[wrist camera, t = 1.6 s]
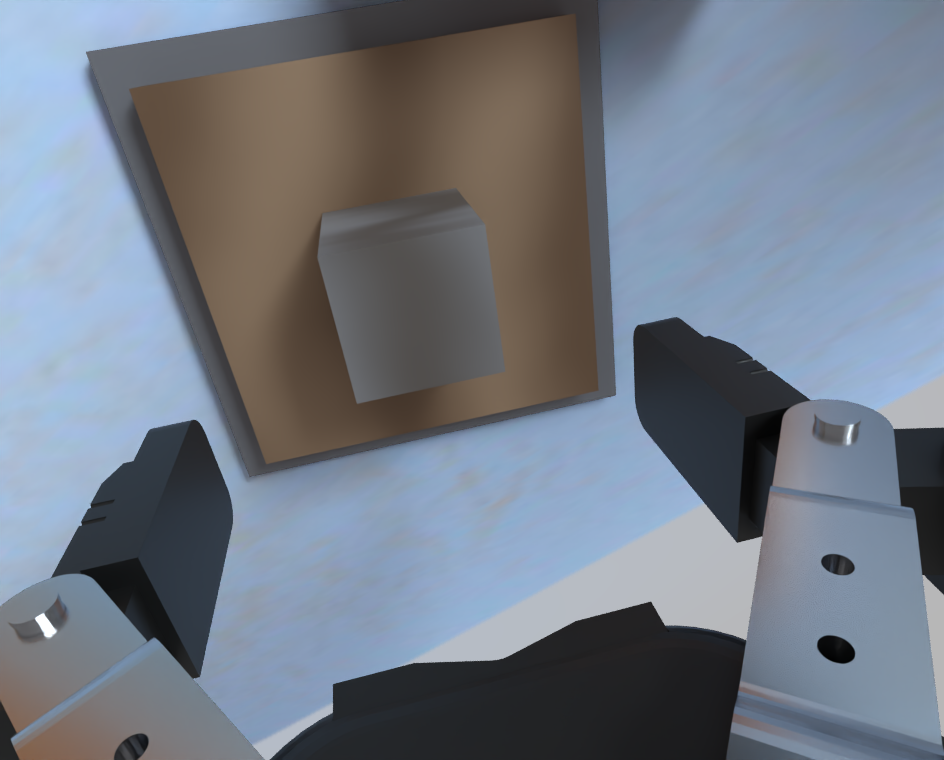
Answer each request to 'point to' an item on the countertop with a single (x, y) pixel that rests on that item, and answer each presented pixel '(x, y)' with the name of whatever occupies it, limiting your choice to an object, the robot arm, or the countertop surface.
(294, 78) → the lid
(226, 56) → the mat
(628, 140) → the countertop surface
